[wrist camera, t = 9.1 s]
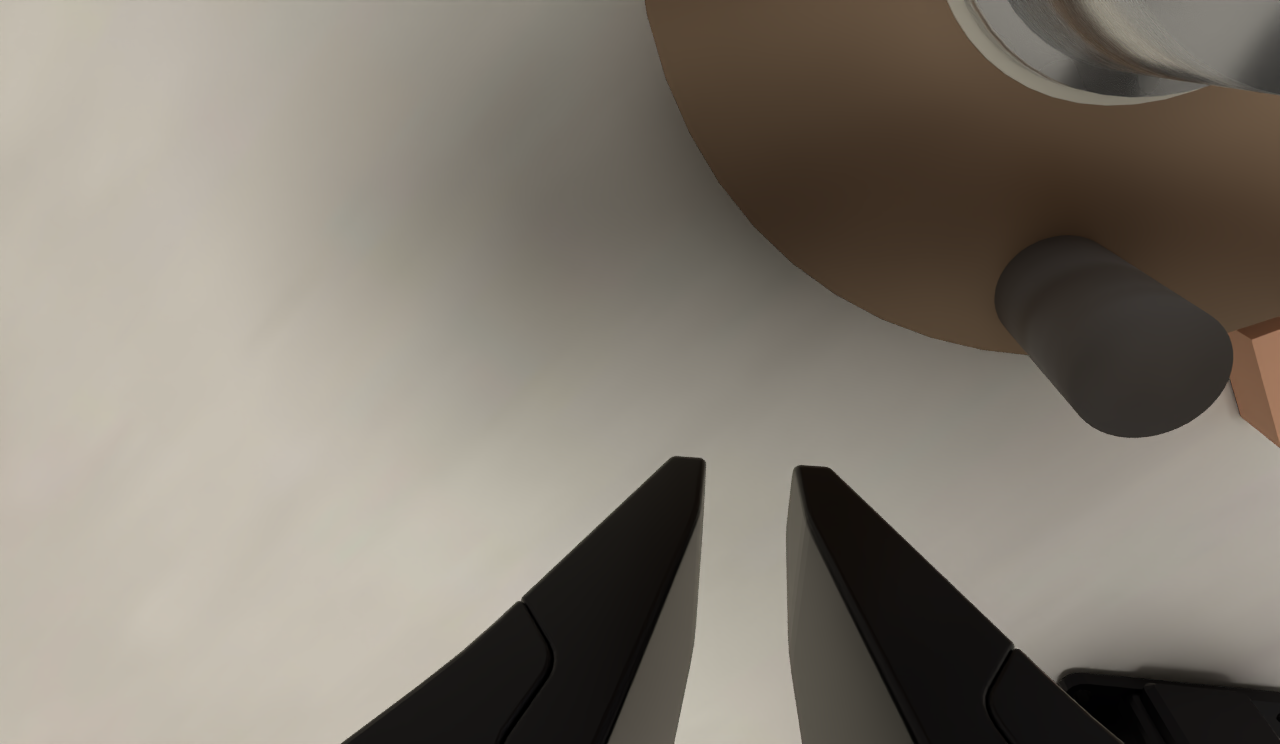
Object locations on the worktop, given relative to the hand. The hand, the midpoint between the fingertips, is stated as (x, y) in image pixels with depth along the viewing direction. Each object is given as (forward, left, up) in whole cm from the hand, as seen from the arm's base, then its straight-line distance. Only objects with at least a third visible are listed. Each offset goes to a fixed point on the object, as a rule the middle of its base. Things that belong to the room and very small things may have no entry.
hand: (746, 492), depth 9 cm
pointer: (-2, -12, -10) cm, 16 cm away
